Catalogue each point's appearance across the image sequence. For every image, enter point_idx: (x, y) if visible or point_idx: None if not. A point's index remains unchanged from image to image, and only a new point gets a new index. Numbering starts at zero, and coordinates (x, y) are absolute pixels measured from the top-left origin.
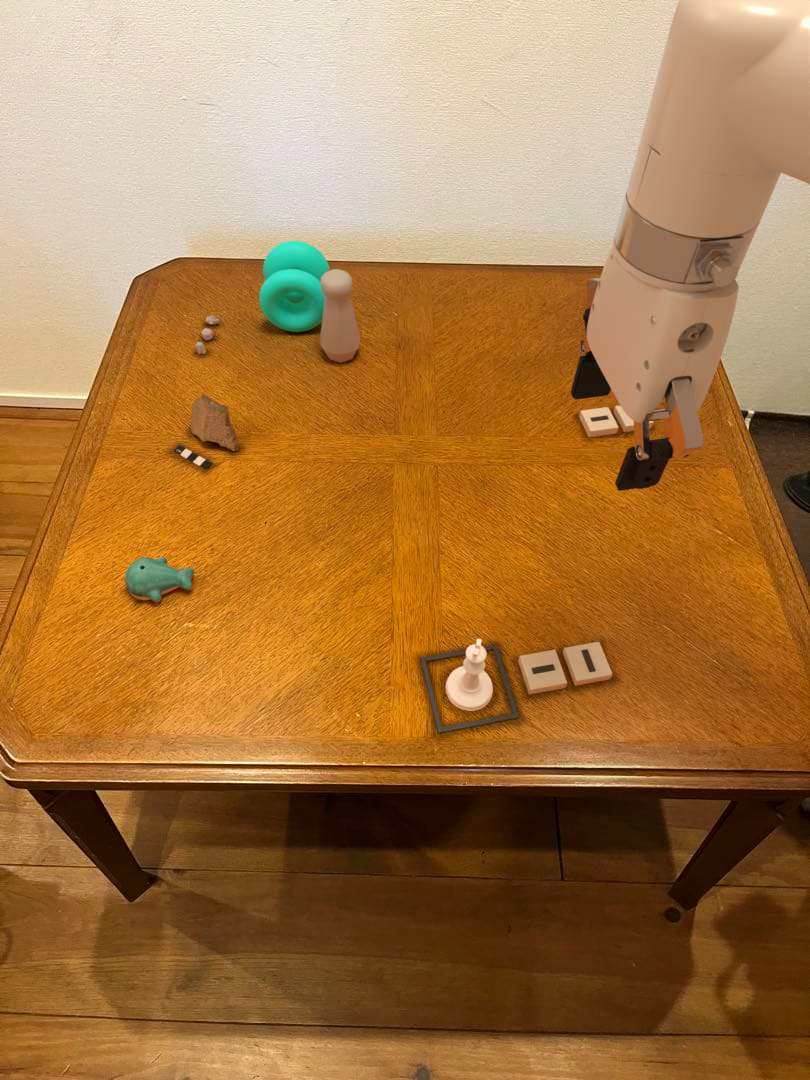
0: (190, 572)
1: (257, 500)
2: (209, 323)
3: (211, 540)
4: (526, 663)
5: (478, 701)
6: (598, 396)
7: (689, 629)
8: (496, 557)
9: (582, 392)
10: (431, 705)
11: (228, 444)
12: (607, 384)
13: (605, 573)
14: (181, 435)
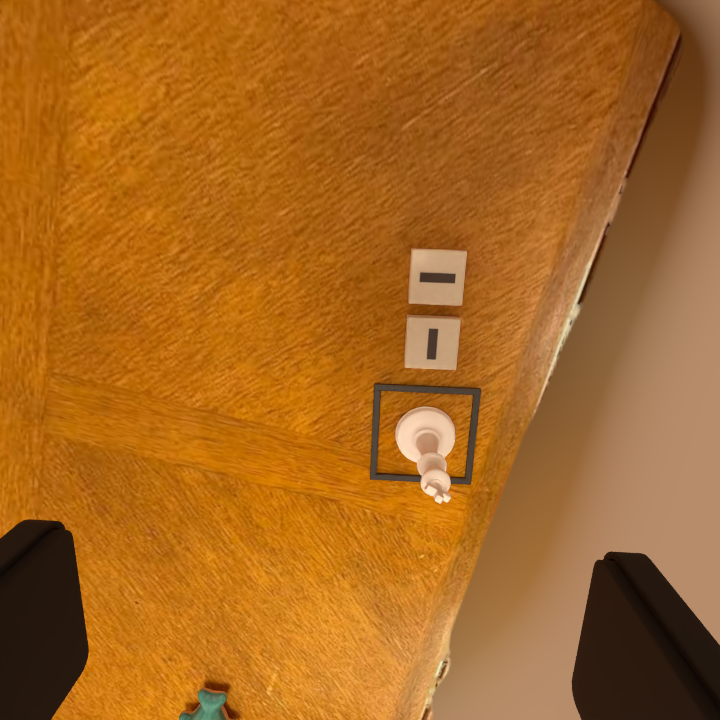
0: (205, 696)
1: (99, 606)
2: None
3: (156, 659)
4: (418, 362)
5: (450, 435)
6: (77, 569)
7: (420, 86)
8: (235, 338)
9: (62, 669)
10: None
11: None
12: (25, 597)
13: (292, 182)
14: None
